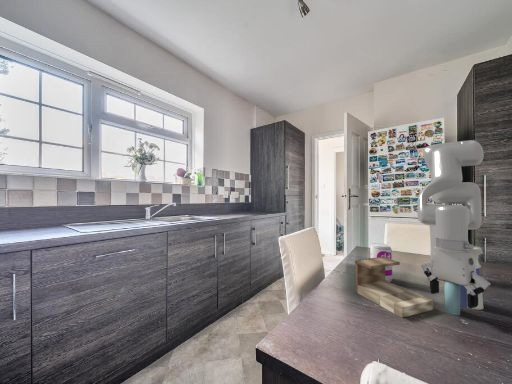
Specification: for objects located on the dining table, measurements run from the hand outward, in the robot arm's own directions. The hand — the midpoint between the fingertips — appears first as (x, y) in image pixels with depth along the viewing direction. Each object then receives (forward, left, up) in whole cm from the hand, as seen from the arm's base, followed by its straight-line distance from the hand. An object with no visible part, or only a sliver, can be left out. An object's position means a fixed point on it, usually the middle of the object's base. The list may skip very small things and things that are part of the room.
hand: (452, 299), depth 67 cm
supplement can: (-2, -27, -4) cm, 28 cm away
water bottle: (-11, -2, -4) cm, 12 cm away
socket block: (+11, -12, -4) cm, 17 cm away
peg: (0, 0, -4) cm, 4 cm away
